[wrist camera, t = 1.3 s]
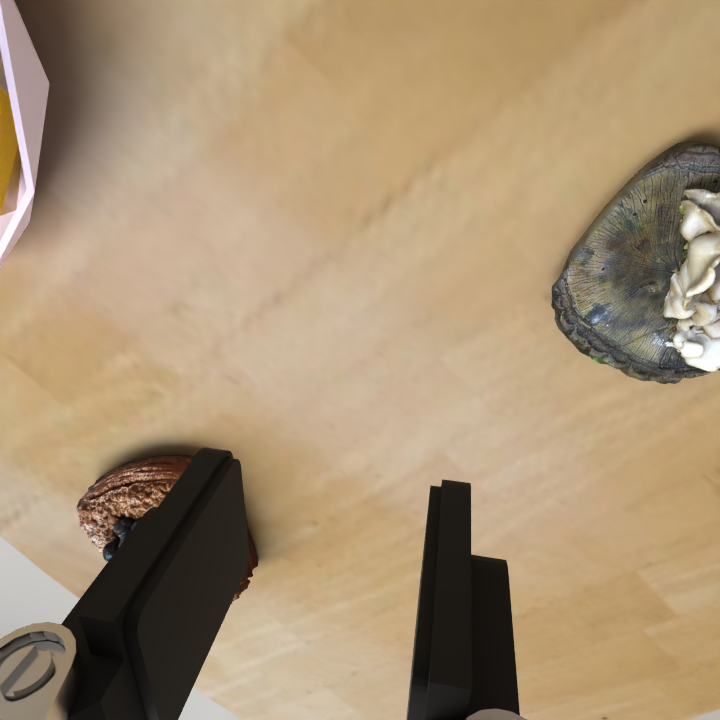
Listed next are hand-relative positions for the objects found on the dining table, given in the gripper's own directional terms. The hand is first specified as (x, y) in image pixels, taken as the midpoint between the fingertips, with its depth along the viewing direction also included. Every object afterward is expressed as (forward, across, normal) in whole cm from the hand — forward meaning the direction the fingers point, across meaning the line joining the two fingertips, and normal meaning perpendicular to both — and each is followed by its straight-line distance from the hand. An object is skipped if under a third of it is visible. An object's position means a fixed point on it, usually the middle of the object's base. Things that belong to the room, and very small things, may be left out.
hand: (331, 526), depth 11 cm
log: (+20, -12, 0) cm, 23 cm away
